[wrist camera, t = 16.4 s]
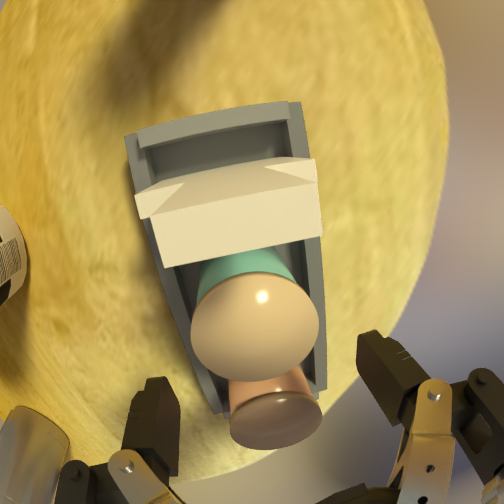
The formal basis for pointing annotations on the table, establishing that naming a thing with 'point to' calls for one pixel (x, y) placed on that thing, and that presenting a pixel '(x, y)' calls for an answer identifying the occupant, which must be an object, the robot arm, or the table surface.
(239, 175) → the plate
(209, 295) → the teal jar
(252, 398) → the terracotta jar
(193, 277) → the lane
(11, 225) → the supplement can
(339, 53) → the table surface
